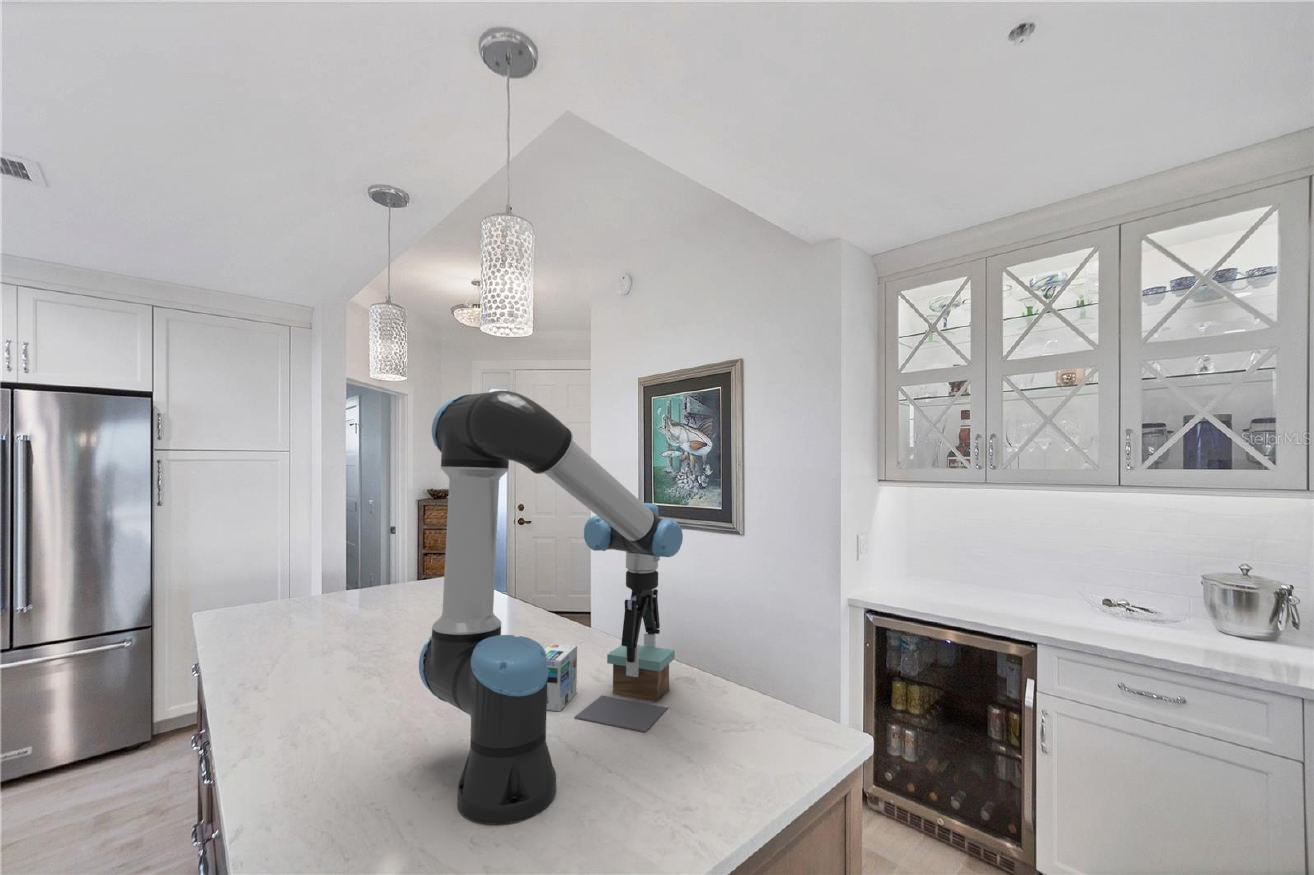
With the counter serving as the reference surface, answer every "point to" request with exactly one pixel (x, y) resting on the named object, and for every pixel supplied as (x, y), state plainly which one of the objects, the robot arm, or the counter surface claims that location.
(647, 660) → the lid
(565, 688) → the light bulb box
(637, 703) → the mat
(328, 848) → the counter surface
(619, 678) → the box
